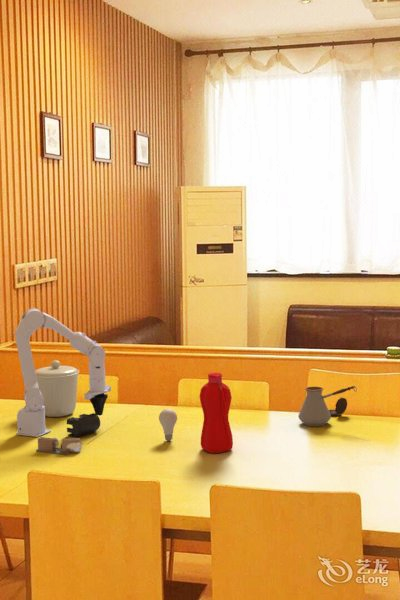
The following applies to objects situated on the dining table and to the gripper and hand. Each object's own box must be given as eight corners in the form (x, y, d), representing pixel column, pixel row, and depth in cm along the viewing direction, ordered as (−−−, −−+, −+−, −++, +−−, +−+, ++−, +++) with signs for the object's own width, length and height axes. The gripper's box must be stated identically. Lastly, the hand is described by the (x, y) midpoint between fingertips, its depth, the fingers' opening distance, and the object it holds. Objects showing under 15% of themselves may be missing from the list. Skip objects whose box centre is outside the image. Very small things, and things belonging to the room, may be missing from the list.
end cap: (80, 439, 274) (79, 420, 274) (66, 436, 279) (65, 417, 278) (101, 432, 282) (100, 414, 281) (86, 430, 286) (86, 411, 286)
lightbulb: (180, 439, 271) (179, 407, 270) (172, 444, 265) (171, 411, 264) (164, 437, 273) (163, 406, 272) (156, 442, 268) (155, 410, 267)
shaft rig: (36, 451, 262) (35, 438, 261) (46, 446, 267) (45, 434, 266) (73, 455, 255) (72, 443, 255) (83, 451, 260) (82, 438, 260)
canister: (77, 419, 301) (74, 364, 299) (29, 420, 302) (26, 365, 299) (84, 408, 319) (82, 355, 317) (39, 409, 319) (36, 356, 317)
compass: (331, 412, 302) (331, 393, 301) (348, 415, 296) (348, 396, 296) (317, 416, 297) (317, 396, 296) (334, 419, 291) (334, 400, 290)
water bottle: (213, 457, 250) (211, 378, 247) (197, 448, 260) (195, 372, 257) (239, 452, 254) (237, 374, 252) (222, 444, 264) (220, 369, 261)
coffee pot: (293, 425, 284) (292, 384, 282) (306, 418, 294) (305, 378, 292) (350, 432, 273) (350, 389, 271) (362, 424, 283) (361, 382, 281)
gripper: (95, 382, 279) (97, 420, 281) (117, 374, 292) (119, 410, 294) (78, 381, 282) (80, 419, 284) (101, 373, 295) (102, 409, 297)
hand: (99, 414), depth 289 cm, fingers closed
